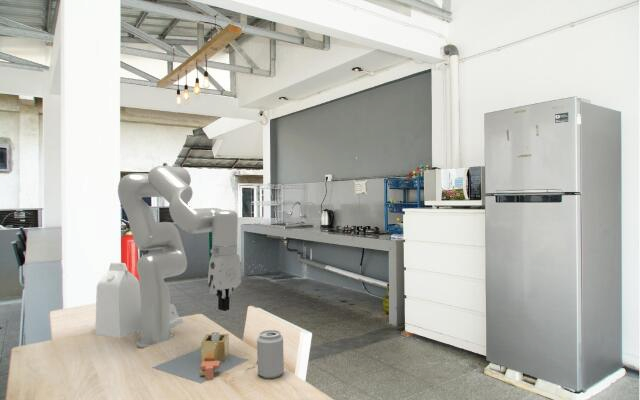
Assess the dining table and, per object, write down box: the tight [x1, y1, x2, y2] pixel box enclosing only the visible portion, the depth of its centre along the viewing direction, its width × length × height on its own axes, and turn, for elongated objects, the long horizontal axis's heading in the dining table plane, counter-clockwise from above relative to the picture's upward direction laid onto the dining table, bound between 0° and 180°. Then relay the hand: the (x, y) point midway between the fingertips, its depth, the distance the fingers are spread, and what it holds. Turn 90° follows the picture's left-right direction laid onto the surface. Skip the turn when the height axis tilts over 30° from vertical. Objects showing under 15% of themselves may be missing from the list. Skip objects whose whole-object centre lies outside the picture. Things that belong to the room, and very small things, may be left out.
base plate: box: [152, 347, 249, 384], centre depth 130 cm, size 20×19×2 cm
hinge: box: [170, 303, 184, 329], centre depth 170 cm, size 17×5×10 cm, turn 165°
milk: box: [94, 262, 141, 339], centre depth 166 cm, size 12×12×26 cm
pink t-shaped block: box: [200, 361, 220, 381], centre depth 122 cm, size 5×5×5 cm
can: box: [256, 329, 285, 379], centre depth 126 cm, size 8×8×12 cm
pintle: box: [210, 331, 220, 341], centre depth 136 cm, size 2×2×8 cm
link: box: [199, 333, 230, 376], centre depth 130 cm, size 18×7×6 cm, turn 1°
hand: (223, 309), depth 135 cm, fingers closed
